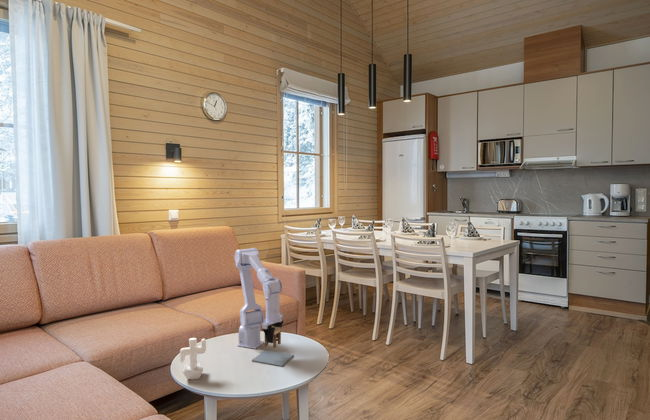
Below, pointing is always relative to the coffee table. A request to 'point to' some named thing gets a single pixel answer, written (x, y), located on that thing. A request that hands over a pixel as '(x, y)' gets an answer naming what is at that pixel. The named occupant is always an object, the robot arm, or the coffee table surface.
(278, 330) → the stool
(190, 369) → the figurine
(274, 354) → the slate mat
